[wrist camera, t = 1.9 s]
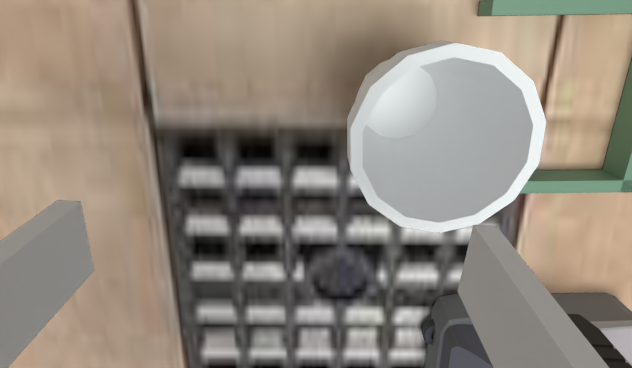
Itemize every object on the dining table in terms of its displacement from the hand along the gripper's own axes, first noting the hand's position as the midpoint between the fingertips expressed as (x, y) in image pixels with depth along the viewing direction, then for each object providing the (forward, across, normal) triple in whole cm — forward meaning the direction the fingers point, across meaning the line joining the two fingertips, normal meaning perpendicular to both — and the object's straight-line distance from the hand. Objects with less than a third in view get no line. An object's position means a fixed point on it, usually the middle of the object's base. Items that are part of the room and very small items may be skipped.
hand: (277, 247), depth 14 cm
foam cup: (+20, -7, -1) cm, 21 cm away
